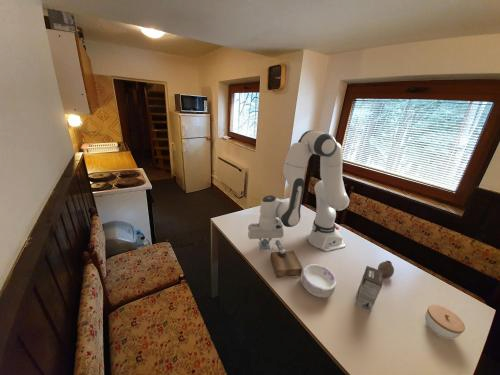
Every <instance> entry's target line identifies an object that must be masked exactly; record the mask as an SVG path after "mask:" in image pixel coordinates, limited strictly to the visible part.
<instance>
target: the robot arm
mask: <svg viewBox="0 0 500 375" xmlns="http://www.w3.org/2000/svg"><path fill="white" fill-rule="evenodd" d="M313 155H317V156H319V157H320V160H319V162H320V164H319V166H320V168H319V173H320V174H319V175H320V176H319V177H320V179H321V180H318V181H317V182H316V183H315V185H314V192H315V198H316V200H315V201H316V212H315V217H314V220H313V223H312V229H311V232H310V234H309V236H308V238H307V240H308V243H309V244H311V245H312V246H313V247H315V248H317V249H320V250H322V251H324V252H331V251H335V250H339V249H344V248H346V244H345V242H344V240H343V236H342V234H341V233H340V231H338V230H340V227H339V226H338V225H336V223H335V220H336V218H337V212H336V211H343V210H345V209H347V208H348V206H349V204H350V197H349V196H348V194H347V192H346V189H345V188H346V187H345V184H344V180H343V148H342V145H341V143H339V142H338V141H337V140H336V139H335V137H334V136H333V135H331V134H330V133H326V132H323V131H319V130H317V131H316V130H307V131H305V132H303V133H302V135H301V136H300V138H299V139H298V141H297V142H294V143H293V144H291V146H290V147H289V149H288V152H287V154H286V157H285V161H284V164H283V169H282V170H283V171H282V173H283V177H284V179H285V181H286V182H287V184H288V187H289V190H290V193H289V201H288V200H286V199H284V198H278V197H276V196H275V195H271V194H270V195H266V196H264V197H263V198H262V200H261V202H260V209H259V213H260V214H259V217H258V223H250V224H249V225H248V227H247V236H248V239H249V240H256V239H257V240H259V242H260V244H263V239H267V244H269V245H270V242H271V241H272V240H273V239H278V238H280V239H282V238H283V237H284V227H286V228H292V227H295V226H297V225H298V224H299V222H300V220H301V208H302V207H301V206H302V202H303V198H304V197H303V196H304V192H305V173H306V169H307V165H308V161H309V159H310V158H311V156H313Z"/></svg>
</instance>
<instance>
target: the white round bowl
mask: <svg viewBox="0 0 500 375" xmlns="http://www.w3.org/2000/svg"><path fill="white" fill-rule="evenodd" d="M300 279H301V283H302V286H303V287H304V288H305V289H306V291H307V292H309V294H311V295H313V296H315V297H320V298H329V297H331V296H332V295H333V294H334V293H335V290H336V287H337V282H338V281H337V277H336V276H335V274H334V273H333V271H332V270H330V269H329V268H327V267H326V266H325V265H321V264H316V263H311V264H308V265H305V267H304V268H302V273H301V278H300Z"/></svg>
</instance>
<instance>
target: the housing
mask: <svg viewBox="0 0 500 375" xmlns="http://www.w3.org/2000/svg"><path fill="white" fill-rule="evenodd" d="M279 252H280V251H279V250H278V251H271V252H270V257H269V258H270V262H271V266H272V269H273V272H274V276H275V278H276V279H279V278H290V277H291V278H292V277H302V273H303V267H302V265H301V263H300V260H299V259H298V256H297V255H296V253H295V250H286V251H285V255H284V256H281V255H280V254H279Z"/></svg>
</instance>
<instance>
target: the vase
mask: <svg viewBox="0 0 500 375" xmlns="http://www.w3.org/2000/svg"><path fill="white" fill-rule="evenodd" d="M377 270H380V271H382V272H383V279H384V278H385V279H389V278H392V276H394V273H395V267H394V266H393V264H392V262H391V261H390V260H385V261H382V262H380V263H378V265H377Z"/></svg>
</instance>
